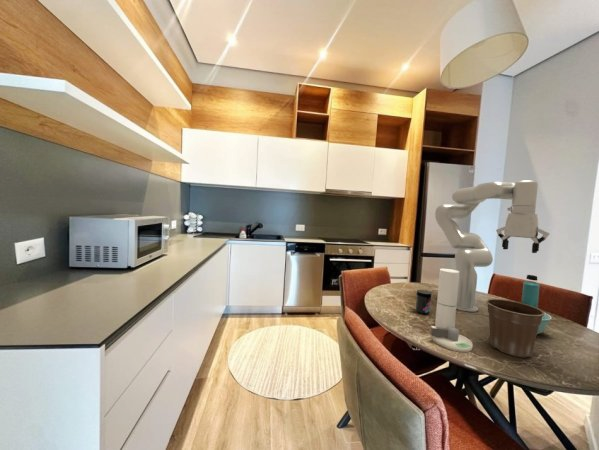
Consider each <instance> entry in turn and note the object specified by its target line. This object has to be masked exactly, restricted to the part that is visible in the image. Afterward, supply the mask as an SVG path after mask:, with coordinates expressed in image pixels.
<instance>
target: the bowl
mask: <svg viewBox="0 0 599 450" xmlns="http://www.w3.org/2000/svg"><path fill="white" fill-rule="evenodd" d="M544 313H545V314H544V316H542V320H541V324H540V325H539V327H538V332H537V335H539V334H542V333H543V332H544V330H545V329H546V328H547V327H548V325H549V323H550V322H551V320H552V316H551V315H550V314H548V313H546V312H544Z"/></svg>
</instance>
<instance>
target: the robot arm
mask: <svg viewBox="0 0 599 450" xmlns="http://www.w3.org/2000/svg"><path fill="white" fill-rule="evenodd" d="M538 187H539V185H538V182H537V181H536V180H529V179H528V180H527V179H526V180H524V179H523V180H518V181H515V182H509V181H489V182H483V183H479V184H477V185H476V186H470V187H463V188H459V189H456V190H454V192H453V193H452V196H451V199H452V201H453V202H454V203H442V204H439V205H438V206H437V207H436V209H435V213H434V216H435V221H436V224H437V225H438V227H440V228H441V231H442V232H443V233H444V236H445V238H446V240H447V241H448V242H449V244H450V246H451V248H453V249H455V250H457V251H456V252H455V255H454V262H455V270H457V271H459V282H458V294H457V305H456V310H459V311H463V312H469V313H476V312H478V311H479V308H478V306H476V298H477V297H476V294H477V284H478V273H477V271H476V269H475V268H478V267H479V268H487V267H489V266H490V265H492V263H493V261H494V260H493V258H494V257H493V255H492V252H491V251H490V250H489V247H487V244H486V243H485V242H484V240H483V239H482V237H481V236H480V235H479V234H477V233H474V232H465V231H463V229H462V228H461V226H460V225H459V224H458V223H457V221H454V220H455V219H456V220H463V219H466V218H467V217H469V216H470V215H471V214H472V212H473V211H474V210H475V209H476V208H477V207H479V205H480V204H481V203H483V202H485V201H486V200H490V199H491V200H492V199H495V200H497V199H498V200H511V206H510V207H507V211H509V212H510V213H509V212H508V214H507V217H506V220H505V226H503V227H499V228H498V229H496V230H495V232H496V233H497V235H498V237H499V238H500V239H501V243H502V244H501V247H502V249H503V250H508V249H509V239H510V238H511V237H513V238H525V239H531V240H532V242H533V243H532V247H531V253H532V254H537V253H538V252H539V251H540V244H541V243H542V242H544V241H546V239H547V238H548V236H550V232H548V231H545V230H543V229H541V228H539V219H538V214H537V213H536V207H537V195H538ZM502 232H503V233H504V234H503V233H502ZM539 234H542V235H541V237H538V236H539Z"/></svg>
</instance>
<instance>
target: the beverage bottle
mask: <svg viewBox="0 0 599 450" xmlns="http://www.w3.org/2000/svg"><path fill="white" fill-rule="evenodd" d="M537 281H538V276H537V275H532V274H527V275H526V281H524V282H522V283H523V286H522V295H521V303H523V304H526V305H530V306H533V307H535V308H538V309H539V298H540V295H539V294H540V287H541V286H540V284H539V283H538V282H537Z"/></svg>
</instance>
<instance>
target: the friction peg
mask: <svg viewBox="0 0 599 450" xmlns="http://www.w3.org/2000/svg"><path fill="white" fill-rule="evenodd" d="M459 333H460V329H458V327H450V326H448V327H447V328H439V327H435V325H430V335H431V337H432V336H437V337H446V338H448V339H450V340H455V341H457V340H458V336H459Z"/></svg>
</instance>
